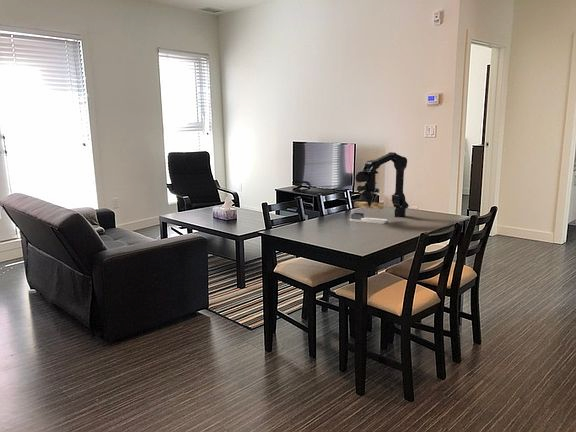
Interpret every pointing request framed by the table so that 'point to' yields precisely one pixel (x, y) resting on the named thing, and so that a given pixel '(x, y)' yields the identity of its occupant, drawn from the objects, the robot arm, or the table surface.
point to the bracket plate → (366, 219)
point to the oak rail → (365, 205)
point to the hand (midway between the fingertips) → (370, 205)
